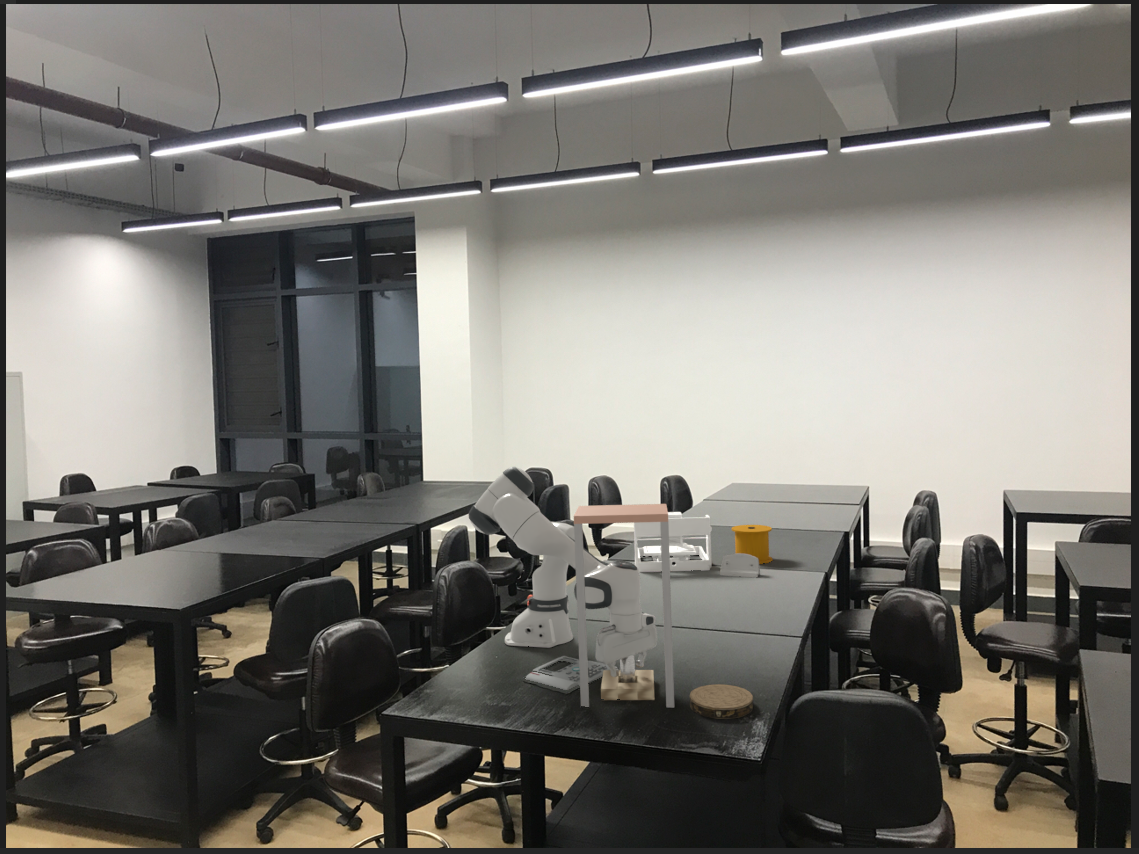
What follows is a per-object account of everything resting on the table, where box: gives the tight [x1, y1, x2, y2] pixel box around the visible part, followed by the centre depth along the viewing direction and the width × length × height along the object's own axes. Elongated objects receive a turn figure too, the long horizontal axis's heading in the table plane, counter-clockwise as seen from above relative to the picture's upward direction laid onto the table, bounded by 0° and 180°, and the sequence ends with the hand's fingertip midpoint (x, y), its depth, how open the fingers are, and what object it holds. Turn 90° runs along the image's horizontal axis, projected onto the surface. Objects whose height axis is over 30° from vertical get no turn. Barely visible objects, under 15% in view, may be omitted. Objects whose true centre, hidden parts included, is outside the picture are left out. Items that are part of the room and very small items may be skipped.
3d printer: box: [633, 511, 713, 573], centre depth 373 cm, size 35×32×25 cm
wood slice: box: [689, 683, 754, 720], centre depth 209 cm, size 16×16×3 cm
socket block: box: [600, 669, 655, 701], centre depth 222 cm, size 14×14×3 cm
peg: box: [619, 654, 636, 683], centre depth 222 cm, size 4×4×10 cm
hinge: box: [719, 553, 761, 578], centre depth 347 cm, size 17×5×10 cm, turn 65°
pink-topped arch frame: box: [573, 503, 675, 708], centre depth 217 cm, size 24×17×50 cm
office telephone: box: [525, 655, 618, 690], centre depth 236 cm, size 23×3×20 cm
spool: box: [730, 524, 773, 565], centre depth 373 cm, size 18×18×15 cm
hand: (627, 671), depth 222 cm, fingers open, 8 cm apart
